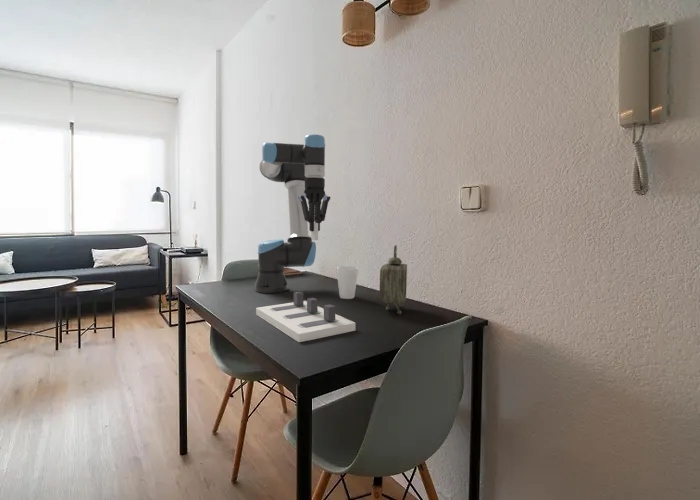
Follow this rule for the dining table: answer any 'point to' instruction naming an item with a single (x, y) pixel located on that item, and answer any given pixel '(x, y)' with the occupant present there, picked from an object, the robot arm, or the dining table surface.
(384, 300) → the tabletop clock
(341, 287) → the foam cup
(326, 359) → the dining table surface
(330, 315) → the handle
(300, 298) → the handle
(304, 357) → the dining table surface
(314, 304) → the handle
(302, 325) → the breaker panel
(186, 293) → the dining table surface
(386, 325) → the dining table surface
